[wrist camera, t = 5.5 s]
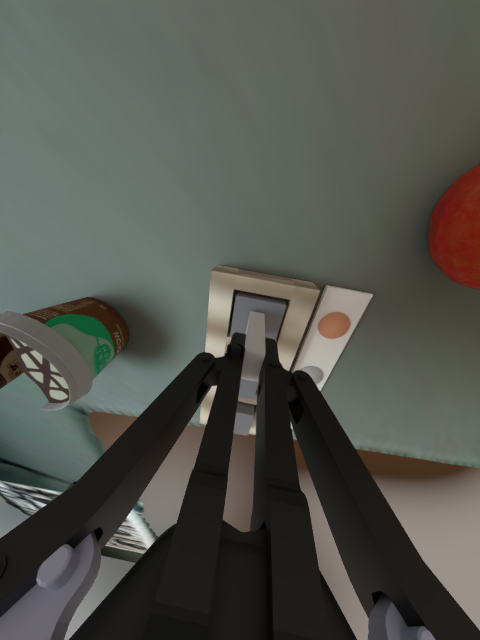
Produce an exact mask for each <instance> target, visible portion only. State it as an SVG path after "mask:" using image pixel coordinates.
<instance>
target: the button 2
mask: <svg viewBox="0 0 480 640" xmlns="http://www.w3.org/2000/svg"><path fill="white" fill-rule="evenodd" d="M285 309H286V302H285V299H283V298H277V297H272V296H267V295H262V294H256V293H251V292H246V291H240V290H238V292H237V294H236V299H235V306H234V312H233V319H232V325H231V332H230V338H232V335H233V334H234V333H235V332H237V333H243V334H246V329H247V324H248V319H249V314H250V311H253V312H258V313H263V314H265V338H271V339H274V340H275V341H276V338H277V335H278V331H279V328H280V325H281V322H282V318H283V315H284V312H285Z"/></svg>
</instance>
